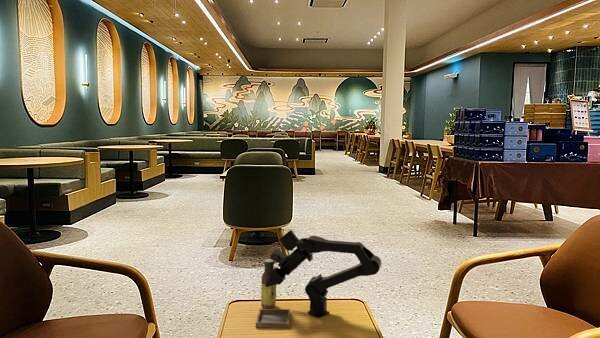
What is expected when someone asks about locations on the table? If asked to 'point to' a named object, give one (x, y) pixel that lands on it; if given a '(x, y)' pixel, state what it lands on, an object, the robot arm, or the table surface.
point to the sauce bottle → (268, 292)
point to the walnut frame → (273, 318)
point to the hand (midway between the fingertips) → (269, 282)
